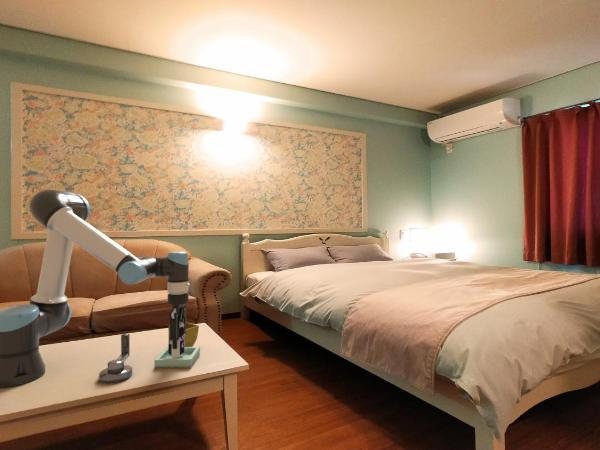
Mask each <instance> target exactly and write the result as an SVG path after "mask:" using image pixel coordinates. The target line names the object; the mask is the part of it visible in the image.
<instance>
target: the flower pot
mask: <svg viewBox="0 0 600 450" xmlns="http://www.w3.org/2000/svg"><path fill="white" fill-rule="evenodd" d="M199 328H200V325H199V324H195V323H190V322H187V321H186V330H185V331H187V333H184V334H185V347H194V345H195V343H196V342H197V339H198V335H199Z"/></svg>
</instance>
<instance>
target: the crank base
mask: <svg viewBox="0 0 600 450" xmlns="http://www.w3.org/2000/svg"><path fill="white" fill-rule="evenodd" d="M132 376H133V367H132V366H130V365H127V364H124V371H122V372H120V373H116V374H109V373H108V367H106V368H104V369H102V370H100V372H99V373H98V381H99V382H100V383H101V384H107V385H108V384H117V383H121V382H124V381H126V380H129V379H130V378H131V377H132Z"/></svg>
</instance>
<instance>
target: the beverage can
mask: <svg viewBox="0 0 600 450" xmlns="http://www.w3.org/2000/svg"><path fill="white" fill-rule="evenodd" d="M167 329H168V333H167V334H168V336H167V337H168V344H167V345H168V353H169V355H171V356H172V340H169V335H170V324H169V325H168V328H167ZM179 339H180V356H181V355H182V354H183V353H184V324H183V322H180V328H179Z"/></svg>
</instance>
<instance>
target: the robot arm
mask: <svg viewBox="0 0 600 450" xmlns="http://www.w3.org/2000/svg"><path fill="white" fill-rule="evenodd" d="M28 207H29V211H30V214H31V216H32V217H33V218H34V219H35V220H36V221H37V222H38V223H40V225H42V226H44V227H45V228H46V229H47V235H46V241H45V247H44V250H43V251H44V252H43V256H42V263H41V268H40V272H39V279H38V285H37V288H36V289H37V290H36V293H35V294H34V295H33V296H31V297H30V299H29V304H27V303H26V304H20V305H16V306H11V307H8V308H5V309H3V310H1V311H0V388H9V387H15V386H21V385H24V384H27V383H29V382H32V381H35V380H38V379H39V378H41V377H42V376H44V375H45V373H46V364H45V363H44V360H43V358H42V356H41V355H42V354H41V353H40V339H41V338H43V337H45V336H47V335H50V334H52V333H55V332H58V331H60V330H61V329H63V328H64V327H65V326H66V325H67V324H68V323H69V322H70V320H71V317H72V308H71V306H70V304H69V301H68V300H69V298H68V297H67V296H66V295H65V293H66V286H67V281H68V274H69V270H70V265H71V259H72V253H73V248H74V244H75V245H77V246H79V247H80V248H81V249H83V250H84V251H85V252H88V253H89V254H90V255H92V256H93V257H95V258H96V259H97V260H99V261H100V262H101V263H103V264H104V265H106V266H107V267H109V268H110V269H112V270H113V271H114V272H116V273H117V274H118V277H119V280H120V281H121V282H122V283H123V284H126V285H134V284H140V283H142V282H144V281H147V280H149V279H152V278H167V293H168V294H167V304H169V305H172V308H171V310H170V311H171V312H169V314H168V317H169V325H170V335H169V340H172V357H180V339H179V328H180V322H183V324H184V333H187V331H185V330H186V322H187V305H186V304H188V303H189V295H190V294H189V287H190V286H191V284H190V283H189V280H190V279H189V277H190V276H189V275H190V274H189V273H190V270H189V266H190V262H189V253H188V252H187V251H169V252H168V253H167V256H164V257H162V256H151V257H150V256H141V257H136V256H135V255H134V254H133V253H131V252H130V251H129V250H127V249H126V248H124V247H123V246H121V245H120V244H118V243H117V242H115V241H114V240H112V239H111V238H109V237H108V236H107V235H106V234H104V233H103V232H101V231H100V230H99V229H97V228H95V227H94V226H93V225H91V224H90V223H88V222H86V220H87V219H88V218H89V216H90V213H91V206H90V203H89V201H88V200H87V199H86V198H85V197H84V196H82V195H81V194H79V193H77V192H72V191H65V190H64V191H63V190H56V189H44V190H40V191H38V192H36V193H35V194H34V195H33V196H32V197H31V199H30V200H29V206H28ZM184 350H185V334H184Z"/></svg>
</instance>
